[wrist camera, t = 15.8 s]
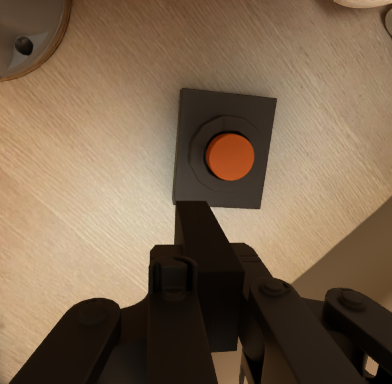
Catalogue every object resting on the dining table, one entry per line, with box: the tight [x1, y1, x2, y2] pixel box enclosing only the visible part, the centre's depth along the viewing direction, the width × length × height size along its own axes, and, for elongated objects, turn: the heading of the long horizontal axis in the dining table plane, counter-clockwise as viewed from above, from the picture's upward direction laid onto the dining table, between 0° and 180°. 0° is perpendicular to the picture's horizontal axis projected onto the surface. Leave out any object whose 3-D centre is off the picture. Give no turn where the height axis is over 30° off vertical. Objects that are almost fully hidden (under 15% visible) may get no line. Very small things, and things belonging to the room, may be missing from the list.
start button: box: [206, 133, 254, 181], centre depth 27 cm, size 4×4×2 cm
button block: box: [172, 88, 277, 209], centre depth 29 cm, size 11×9×4 cm
